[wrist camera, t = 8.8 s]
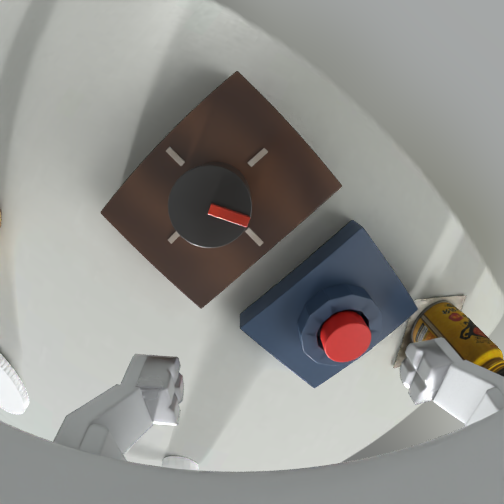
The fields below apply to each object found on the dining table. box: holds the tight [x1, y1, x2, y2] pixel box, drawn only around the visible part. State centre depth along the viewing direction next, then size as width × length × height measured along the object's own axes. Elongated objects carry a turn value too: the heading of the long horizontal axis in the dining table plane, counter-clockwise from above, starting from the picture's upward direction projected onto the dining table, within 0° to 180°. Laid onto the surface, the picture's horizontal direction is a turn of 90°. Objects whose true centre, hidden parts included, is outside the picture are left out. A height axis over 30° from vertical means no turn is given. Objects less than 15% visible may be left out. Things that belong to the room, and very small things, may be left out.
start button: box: [320, 311, 371, 362], centre depth 21 cm, size 4×4×2 cm
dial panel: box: [100, 71, 342, 309], centre depth 20 cm, size 13×10×3 cm
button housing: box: [240, 220, 418, 388], centre depth 23 cm, size 12×10×4 cm
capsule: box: [162, 456, 199, 470], centre depth 30 cm, size 5×5×8 cm
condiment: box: [393, 296, 504, 377], centre depth 21 cm, size 7×8×12 cm
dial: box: [168, 162, 252, 248], centre depth 17 cm, size 4×4×4 cm
